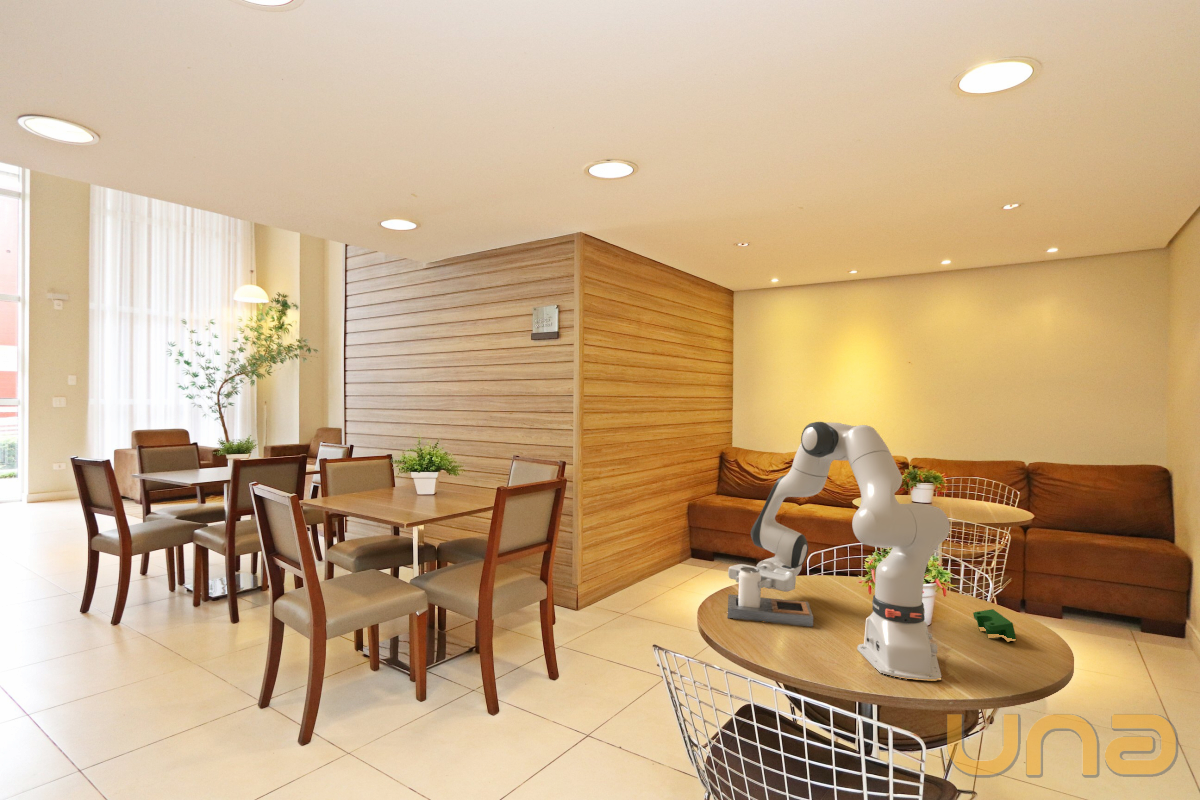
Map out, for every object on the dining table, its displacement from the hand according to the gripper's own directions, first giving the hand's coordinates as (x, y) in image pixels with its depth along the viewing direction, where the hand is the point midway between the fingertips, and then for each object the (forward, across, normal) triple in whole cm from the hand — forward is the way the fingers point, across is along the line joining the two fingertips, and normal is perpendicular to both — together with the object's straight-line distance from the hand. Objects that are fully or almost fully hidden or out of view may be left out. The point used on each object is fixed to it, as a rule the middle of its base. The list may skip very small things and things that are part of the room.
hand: (748, 582), depth 187 cm
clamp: (-37, +57, +10) cm, 69 cm away
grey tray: (-4, +5, +10) cm, 11 cm away
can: (-1, 0, +8) cm, 9 cm away
